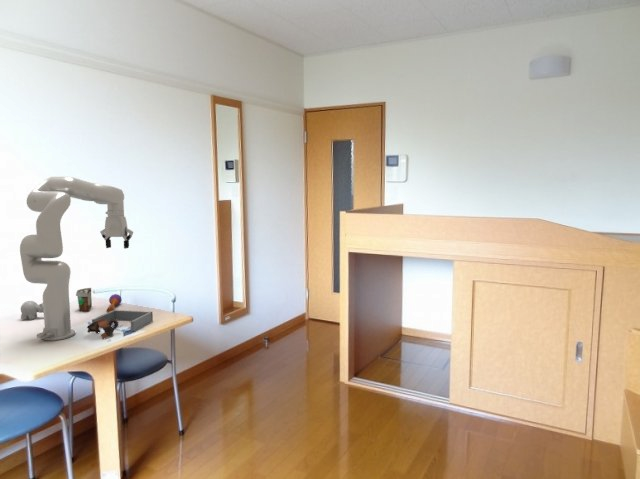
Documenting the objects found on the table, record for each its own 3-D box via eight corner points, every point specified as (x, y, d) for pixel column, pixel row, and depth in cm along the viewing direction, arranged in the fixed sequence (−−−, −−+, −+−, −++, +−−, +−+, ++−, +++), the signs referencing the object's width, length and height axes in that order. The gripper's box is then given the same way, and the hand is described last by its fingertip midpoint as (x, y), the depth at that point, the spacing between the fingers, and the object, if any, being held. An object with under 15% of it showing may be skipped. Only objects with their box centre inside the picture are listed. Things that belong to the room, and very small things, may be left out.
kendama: (102, 306, 232) (108, 294, 251) (105, 317, 233) (111, 304, 252) (114, 303, 233) (120, 291, 252) (118, 314, 235) (123, 302, 254)
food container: (79, 307, 245) (78, 288, 244) (92, 306, 247) (91, 287, 246) (74, 313, 233) (73, 293, 232) (88, 312, 235) (87, 292, 234)
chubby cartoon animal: (46, 320, 222) (45, 302, 221) (18, 321, 220) (17, 303, 219) (52, 315, 229) (51, 298, 228) (25, 317, 227) (23, 299, 226)
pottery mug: (96, 342, 191) (87, 324, 192) (91, 347, 198) (82, 329, 199) (124, 329, 200) (115, 311, 200) (118, 333, 206) (110, 317, 207)
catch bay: (133, 331, 204) (133, 321, 203) (92, 329, 207) (91, 319, 206) (152, 321, 220) (152, 311, 219) (114, 319, 223) (113, 310, 222)
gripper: (95, 214, 234) (97, 248, 236) (127, 214, 232) (129, 249, 234) (104, 213, 242) (106, 246, 244) (136, 213, 239) (137, 247, 241)
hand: (117, 248), depth 239 cm, fingers open, 9 cm apart
